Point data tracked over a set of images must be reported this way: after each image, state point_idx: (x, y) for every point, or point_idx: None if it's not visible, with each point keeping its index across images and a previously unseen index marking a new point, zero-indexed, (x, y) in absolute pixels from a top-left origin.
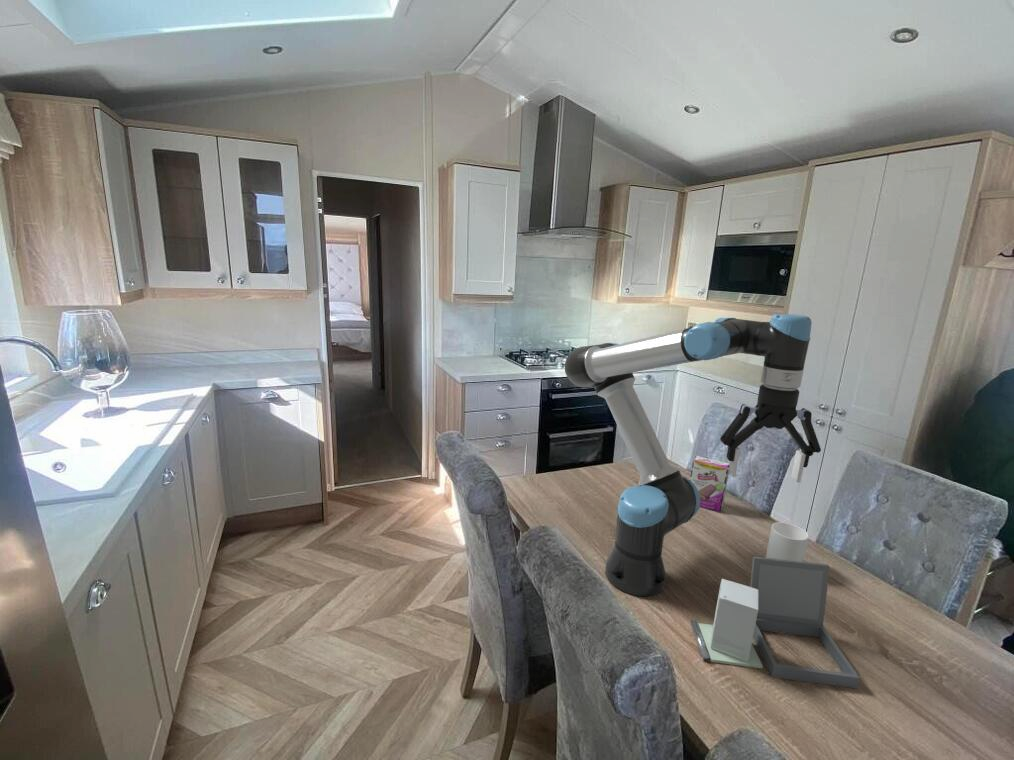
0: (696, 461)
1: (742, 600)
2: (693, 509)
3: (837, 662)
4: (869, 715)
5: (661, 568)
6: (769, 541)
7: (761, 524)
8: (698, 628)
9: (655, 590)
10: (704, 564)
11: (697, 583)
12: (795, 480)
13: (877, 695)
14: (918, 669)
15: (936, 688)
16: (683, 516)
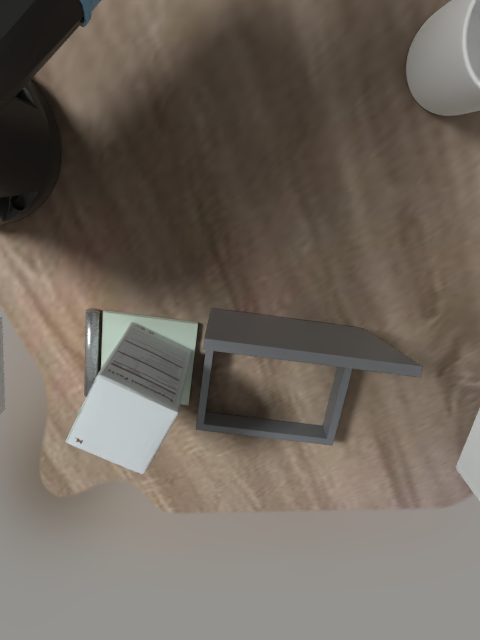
0: None
1: (118, 450)
2: (71, 15)
3: (332, 393)
4: (309, 470)
5: (12, 190)
6: (441, 22)
7: None
8: (93, 335)
9: (19, 218)
10: (202, 68)
11: (150, 164)
12: (464, 451)
13: (351, 441)
14: (472, 396)
15: (462, 428)
16: (11, 86)
